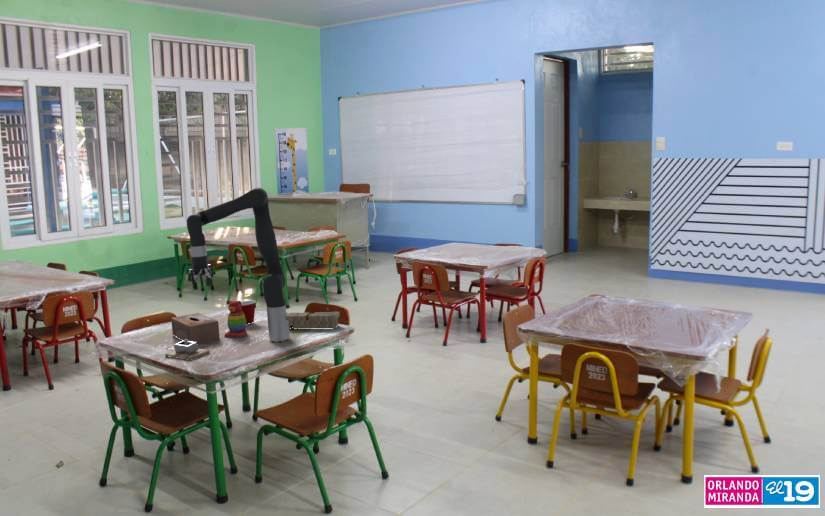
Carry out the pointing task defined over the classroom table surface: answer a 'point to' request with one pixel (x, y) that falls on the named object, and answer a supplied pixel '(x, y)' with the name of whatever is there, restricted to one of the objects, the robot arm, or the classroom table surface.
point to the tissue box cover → (195, 328)
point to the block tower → (313, 320)
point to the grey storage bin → (186, 347)
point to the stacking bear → (236, 320)
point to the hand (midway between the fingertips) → (202, 287)
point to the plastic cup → (248, 310)
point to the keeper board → (186, 356)
